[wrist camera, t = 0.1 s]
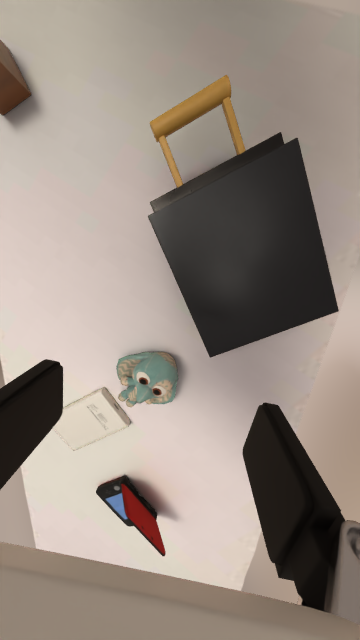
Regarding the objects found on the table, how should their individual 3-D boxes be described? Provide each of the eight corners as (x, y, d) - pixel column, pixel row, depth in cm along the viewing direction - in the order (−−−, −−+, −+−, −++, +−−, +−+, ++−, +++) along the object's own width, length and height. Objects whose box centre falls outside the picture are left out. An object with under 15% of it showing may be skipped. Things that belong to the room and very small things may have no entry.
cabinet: (161, 229, 26) (147, 215, 18) (263, 178, 23) (298, 136, 16) (205, 332, 29) (210, 357, 22) (297, 296, 27) (339, 311, 19)
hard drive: (51, 413, 36) (104, 386, 33) (78, 444, 38) (131, 420, 35) (44, 419, 34) (100, 392, 32) (73, 452, 36) (128, 428, 33)
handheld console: (95, 484, 40) (75, 532, 33) (138, 468, 38) (126, 515, 31) (129, 521, 43) (117, 573, 36) (171, 508, 41) (166, 559, 34)
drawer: (139, 168, 23) (120, 135, 17) (240, 109, 21) (260, 48, 15) (203, 319, 28) (206, 335, 22) (291, 284, 26) (321, 291, 20)
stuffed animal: (82, 401, 28) (126, 354, 23) (108, 369, 34) (147, 327, 29) (140, 443, 29) (194, 409, 24) (155, 405, 36) (200, 371, 31)
